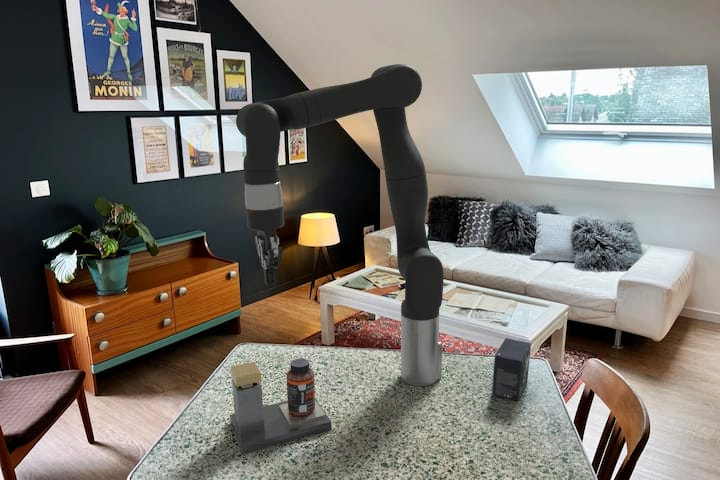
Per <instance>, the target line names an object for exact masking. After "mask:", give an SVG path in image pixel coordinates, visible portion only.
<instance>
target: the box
mask: <svg viewBox="0 0 720 480" xmlns="http://www.w3.org/2000/svg"><path fill="white" fill-rule="evenodd" d="M531 347H532V343H531V342H526V341H521V340H517V339H512V338H507V337H505V339H504V341H503V342H502V343H501V345H500V346H499V348H498V349H497V351H496V352H495V354H494V359H493V361H494V362H493V373H492V384H491V395H492V396H496V397H500V398H504V399H508V400H513V401H516V402H517V401H519V400H520V398H521V396H522V394H523V391H524V389H525V387H526V385H527V383H528V380H529V379H528V378H529V368H530V360H531V359H530V358H531V349H532V348H531Z"/></svg>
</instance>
